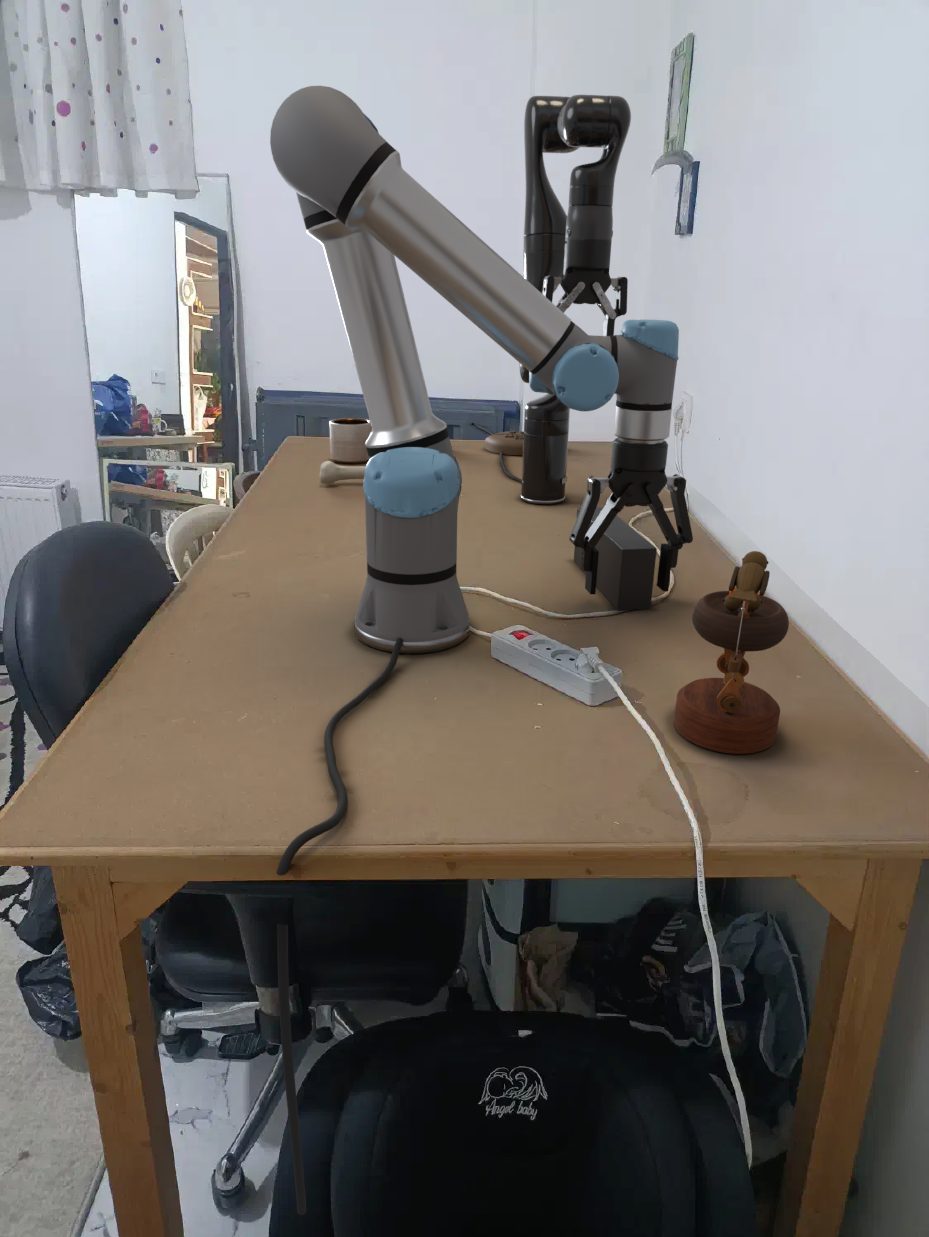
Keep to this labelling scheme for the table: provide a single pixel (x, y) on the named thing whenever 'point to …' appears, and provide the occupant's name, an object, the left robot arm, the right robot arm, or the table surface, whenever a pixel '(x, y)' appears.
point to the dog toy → (339, 472)
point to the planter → (349, 439)
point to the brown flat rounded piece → (506, 443)
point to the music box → (734, 665)
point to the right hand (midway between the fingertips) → (581, 342)
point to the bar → (623, 565)
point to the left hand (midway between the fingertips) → (626, 589)
